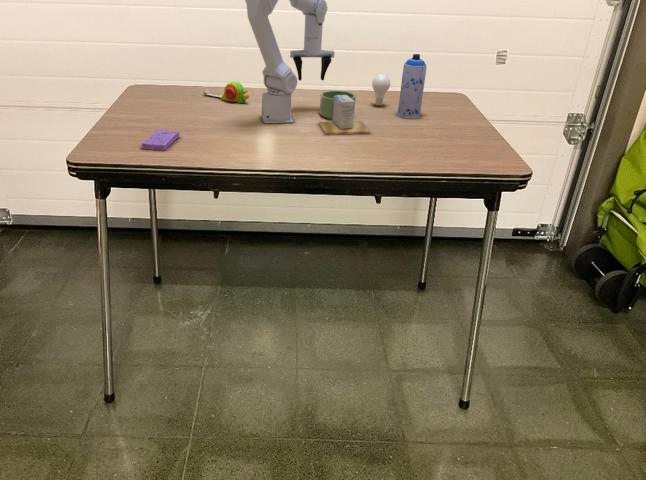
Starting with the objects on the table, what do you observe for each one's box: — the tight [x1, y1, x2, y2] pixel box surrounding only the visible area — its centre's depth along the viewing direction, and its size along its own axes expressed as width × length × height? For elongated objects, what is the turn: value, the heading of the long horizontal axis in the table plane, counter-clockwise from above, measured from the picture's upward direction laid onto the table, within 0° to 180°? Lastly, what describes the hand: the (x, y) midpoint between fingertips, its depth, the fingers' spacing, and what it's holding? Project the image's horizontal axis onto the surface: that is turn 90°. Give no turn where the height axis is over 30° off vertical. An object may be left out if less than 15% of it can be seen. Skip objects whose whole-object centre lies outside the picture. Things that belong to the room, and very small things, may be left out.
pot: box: [319, 90, 357, 121], centre depth 204 cm, size 11×11×7 cm
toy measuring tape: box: [203, 80, 250, 104], centre depth 218 cm, size 6×19×7 cm, turn 57°
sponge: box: [141, 129, 180, 151], centre depth 177 cm, size 7×13×2 cm, turn 170°
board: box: [318, 120, 371, 136], centre depth 193 cm, size 14×11×1 cm
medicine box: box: [331, 95, 356, 129], centre depth 192 cm, size 8×4×9 cm, turn 15°
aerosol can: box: [396, 53, 427, 120], centre depth 203 cm, size 8×8×20 cm
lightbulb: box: [371, 73, 391, 107], centre depth 215 cm, size 6×6×11 cm
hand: (311, 79), depth 205 cm, fingers open, 7 cm apart
